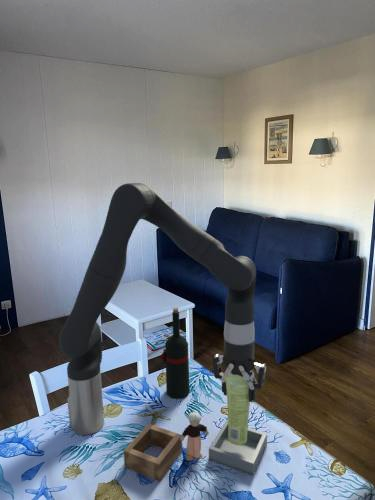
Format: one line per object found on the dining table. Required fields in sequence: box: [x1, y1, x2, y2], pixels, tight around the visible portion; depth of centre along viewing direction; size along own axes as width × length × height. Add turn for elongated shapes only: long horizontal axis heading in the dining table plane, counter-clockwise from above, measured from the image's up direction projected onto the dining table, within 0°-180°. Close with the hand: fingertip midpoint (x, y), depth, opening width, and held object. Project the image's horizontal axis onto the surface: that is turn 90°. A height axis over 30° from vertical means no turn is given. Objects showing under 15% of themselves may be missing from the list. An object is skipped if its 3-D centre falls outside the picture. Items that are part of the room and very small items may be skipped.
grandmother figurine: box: [180, 411, 210, 462], centre depth 99 cm, size 8×4×13 cm, turn 117°
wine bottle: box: [159, 307, 191, 400], centre depth 125 cm, size 8×10×30 cm
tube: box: [225, 373, 251, 445], centre depth 98 cm, size 6×5×20 cm
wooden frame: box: [123, 423, 183, 483], centre depth 98 cm, size 10×12×5 cm
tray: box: [208, 420, 268, 477], centre depth 100 cm, size 12×12×4 cm
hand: (238, 396), depth 97 cm, fingers closed on tube, 6 cm apart
